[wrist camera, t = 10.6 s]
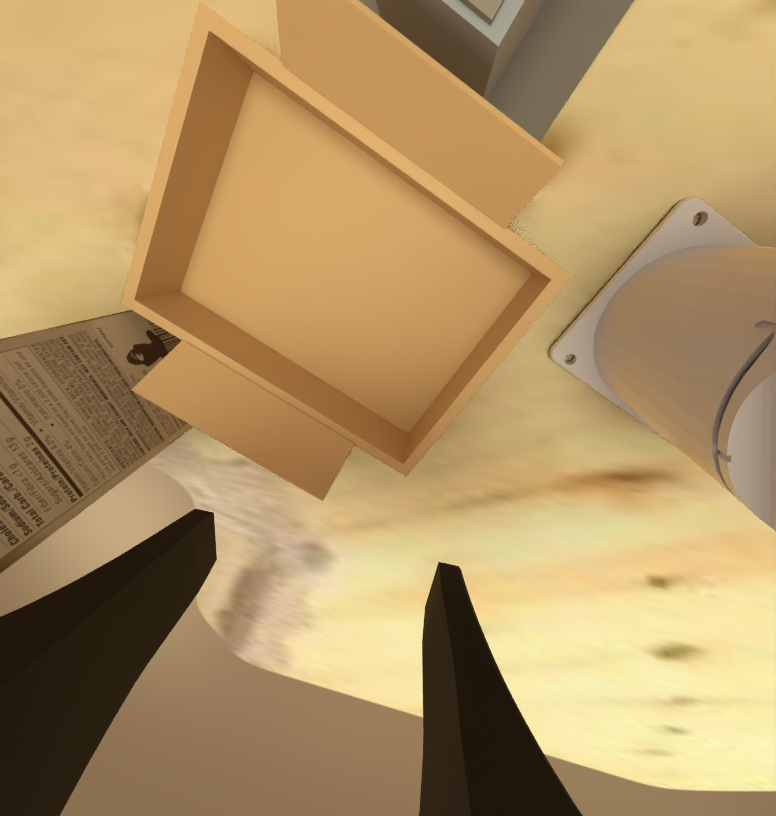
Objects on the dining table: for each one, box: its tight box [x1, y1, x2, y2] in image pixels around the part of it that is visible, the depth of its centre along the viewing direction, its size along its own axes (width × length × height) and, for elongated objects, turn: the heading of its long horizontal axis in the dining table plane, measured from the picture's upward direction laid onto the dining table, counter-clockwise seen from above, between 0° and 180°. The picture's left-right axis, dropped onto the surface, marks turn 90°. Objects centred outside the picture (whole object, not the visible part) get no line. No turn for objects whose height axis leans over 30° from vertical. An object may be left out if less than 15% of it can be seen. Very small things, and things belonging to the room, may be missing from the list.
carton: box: [121, 0, 572, 501], centre depth 15 cm, size 15×15×6 cm
